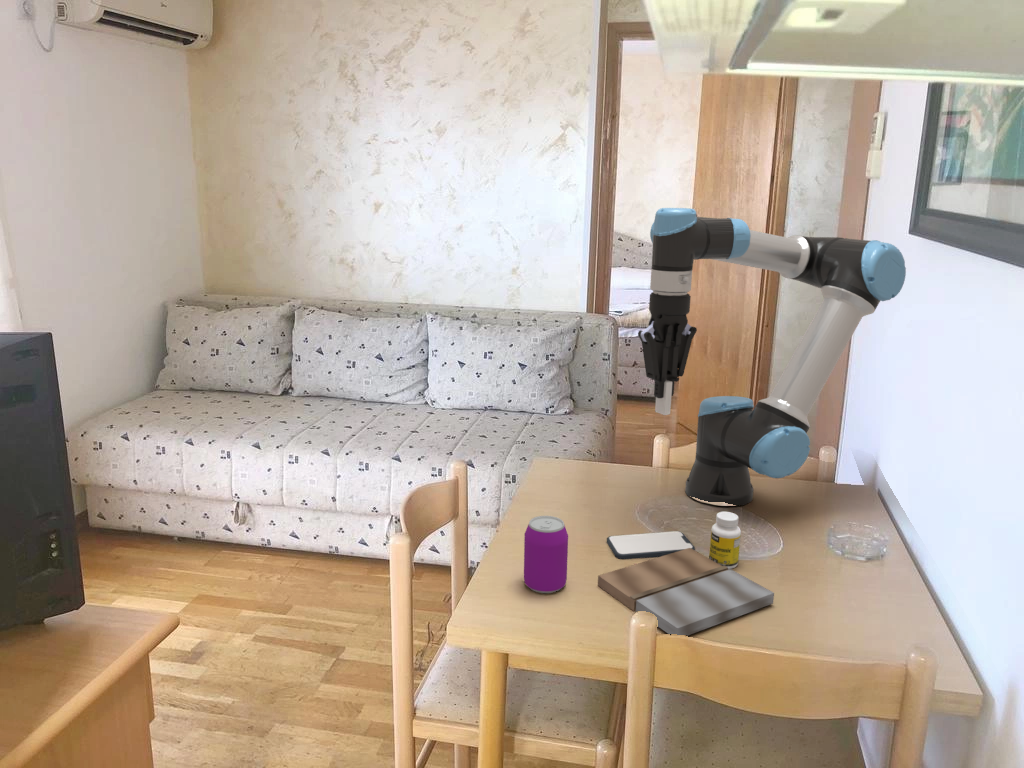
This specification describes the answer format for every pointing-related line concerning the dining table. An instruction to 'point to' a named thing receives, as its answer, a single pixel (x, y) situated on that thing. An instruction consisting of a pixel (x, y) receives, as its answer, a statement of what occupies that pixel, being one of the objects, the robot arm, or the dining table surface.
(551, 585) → the beverage can
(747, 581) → the grey plank
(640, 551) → the smartphone
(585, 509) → the dining table surface
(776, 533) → the dining table surface
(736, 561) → the supplement bottle
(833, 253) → the robot arm
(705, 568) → the walnut floor board
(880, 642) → the dining table surface
